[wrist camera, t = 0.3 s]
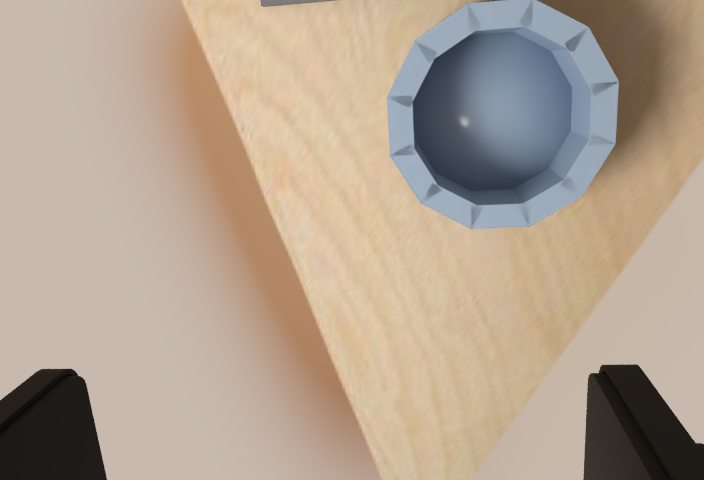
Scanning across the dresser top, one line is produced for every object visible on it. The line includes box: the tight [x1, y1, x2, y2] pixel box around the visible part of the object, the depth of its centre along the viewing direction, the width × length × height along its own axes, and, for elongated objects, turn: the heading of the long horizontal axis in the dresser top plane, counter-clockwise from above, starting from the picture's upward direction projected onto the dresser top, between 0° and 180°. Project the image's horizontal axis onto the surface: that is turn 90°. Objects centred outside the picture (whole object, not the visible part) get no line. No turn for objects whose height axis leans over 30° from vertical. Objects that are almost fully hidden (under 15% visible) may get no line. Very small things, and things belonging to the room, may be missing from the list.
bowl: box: [387, 0, 619, 229], centre depth 35 cm, size 12×12×5 cm
